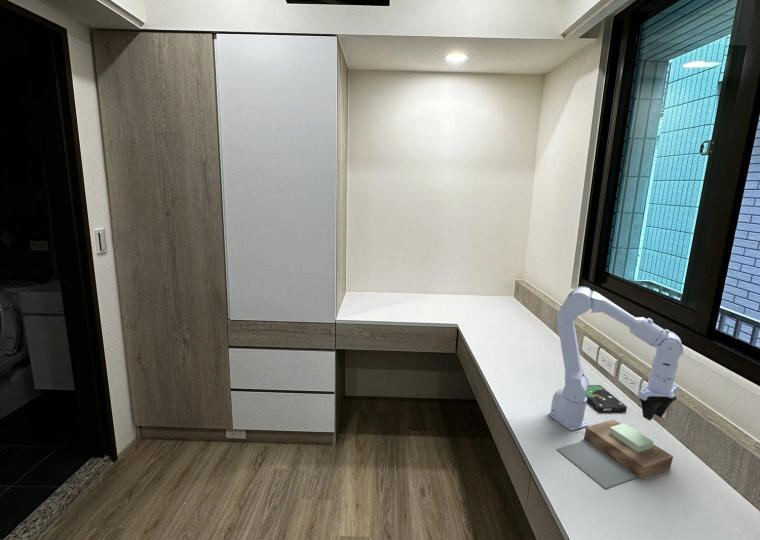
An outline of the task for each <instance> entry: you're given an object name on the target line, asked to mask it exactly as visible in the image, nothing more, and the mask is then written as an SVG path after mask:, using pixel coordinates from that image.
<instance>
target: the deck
mask: <svg viewBox="0 0 760 540" xmlns="http://www.w3.org/2000/svg"><path fill="white" fill-rule="evenodd" d="M619 424H621V423H620V422H619V421H617V420H615V419H610V420H607V421H603V422H599V423H596V424H591V425H589V426H586V427H585V432H584V436H583V439H584V440H587V441H588V442H590V443H591V444H593V445H594V446H595V447H597V448H598V449H599V450H601V451H602V452H604V453H605V454H606V455H608V456H609V457H611V458H612V459H613V460H615V461H616V462H618V463H619V464H620V465H622V466H623V467H625V468H626V469H627V470H629V471H630V472H631V473H633V474H634V475H636V476H637V478H638V479H639V480H644V479H647V478H650V477H653V476H655V475H657V474H661V473H663V472H666V471H668V470H671V467H672V462H673V459H674V456H673V455H672V454H670V453H668V452H667V451H666V450H663V449H662V448H660V447H659V446H657V445H656V444H654V443H653V447H652V448H650V449H647V450H644V451H641V452H637V451H635V450H633V449H632V448H630V447H629V446H627V445H626V444H624V443H623V442H621V441H620V440H618V439H617V438H615V437H614V436H612V435H611V434H609V430H610V427H612V426H616V425H619Z"/></svg>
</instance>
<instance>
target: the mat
mask: <svg viewBox="0 0 760 540" xmlns="http://www.w3.org/2000/svg"><path fill="white" fill-rule="evenodd" d="M556 451H558V453H560V455H562V456H564V458H566V459H567V460H569V461H570V462H571V463H572V464H573V465H574V466H576V467H577V468H578V469H579V470H581V471H583V473H585V474H586V475H587V477H590V478H591V479H592V480H593V481H595V483H597V484H599V486H600V487H602V488H603V489H604V490H607V489H610V488H612V487H615V486H618V485H620V484H623V483H626V482H629V481H632V480H634V479H637V478H638V477H637V476H636V475H634V474H633V473H631V472H630V471H629V470H627V469H626V468H625V467H623V466H622V465H620V464H619V463H618V462H616V461H615V460H613V459H612V458H611V457H609V456H608V455H606V454H605V453H604V452H602V451H601V450H599V449H598V448H597V447H595V446H594V445H593V444H591V443H590V442H588V441H587V440H585V439H584V440H581V441H578V442H574V443H571V444H567V445H564V446H561V447H559V448H558V447H557V448H556Z"/></svg>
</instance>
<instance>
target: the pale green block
mask: <svg viewBox="0 0 760 540" xmlns="http://www.w3.org/2000/svg"><path fill="white" fill-rule="evenodd" d="M609 434H611V435H612V436H614V437H615V438H617V439H618V440H620V441H621V442H623V443H624V444H626V445H627V446H629V447H630V448H632V449H633V450H635V451H637V452H641V451H644V450H647V449H650V448H652V447H653V444H654V441H653V440H652V439H650V438H648V437H647V436H646V435H644V434H643V433H640V432H639V431H637V430H636V429H634V428H633V427H631V426H629V425H628V424H626V423H620V424H619V425H616V426H612V427H610V430H609Z"/></svg>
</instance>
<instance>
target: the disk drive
mask: <svg viewBox="0 0 760 540" xmlns="http://www.w3.org/2000/svg"><path fill="white" fill-rule="evenodd" d="M586 397H587V402H586V404H588V405H590V406H591V407H592V408H593V409H594V410H595V411H596V412H597V413H598V414H616V413H617V414H618V413H619V414H620V413H621V414H622V413H623V412H625V413H627V408H628V406H627V405H625V404H624V403H623V402H622V401H621V400H619V399H618V398H617V397H615V396H614V395H613V394H611V392H609V391H608V390H607V389H606V388H604V387H603V386H602V385H601V384H588V387H587V390H586Z"/></svg>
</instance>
